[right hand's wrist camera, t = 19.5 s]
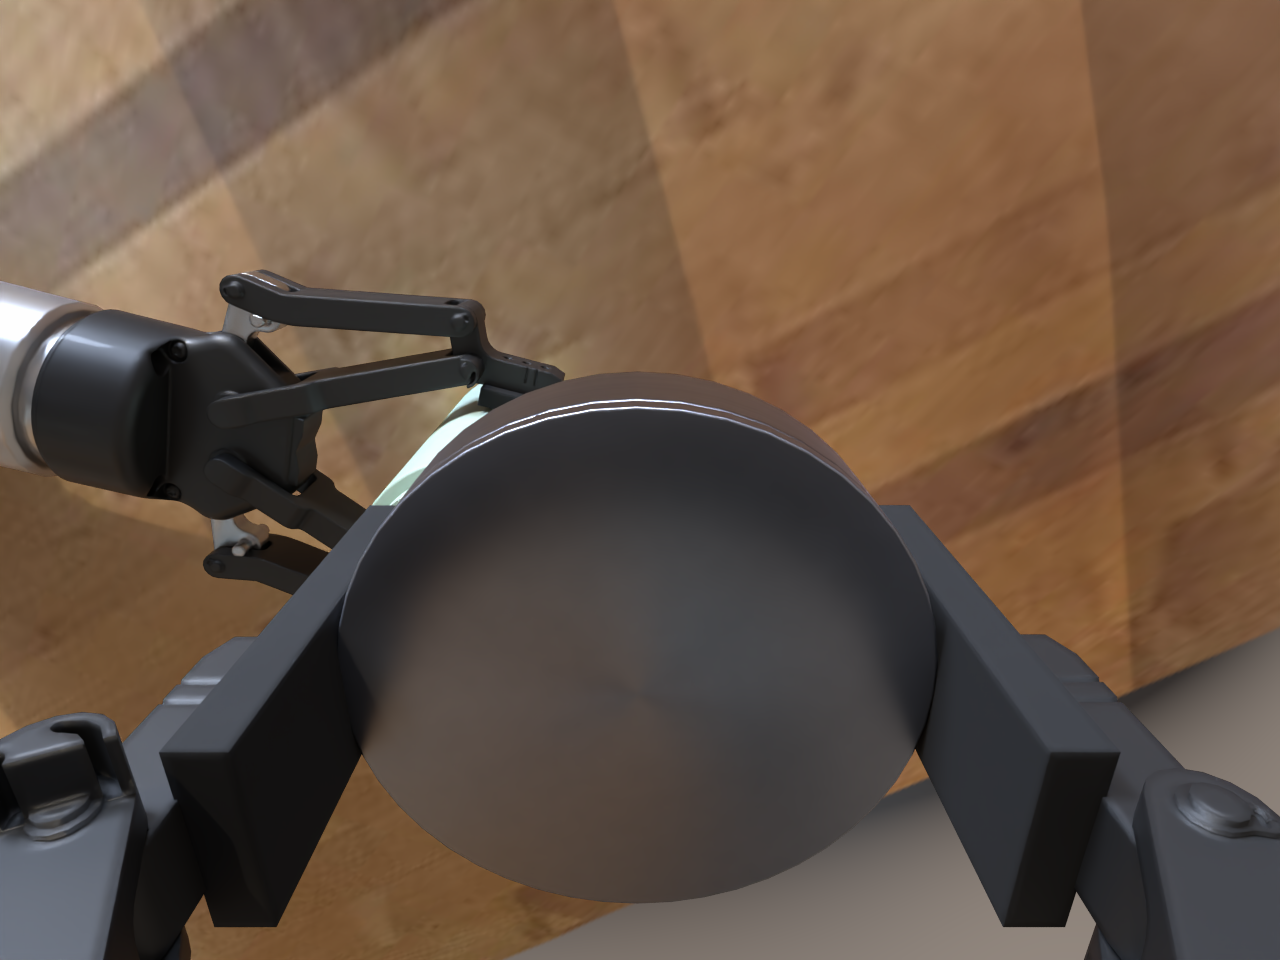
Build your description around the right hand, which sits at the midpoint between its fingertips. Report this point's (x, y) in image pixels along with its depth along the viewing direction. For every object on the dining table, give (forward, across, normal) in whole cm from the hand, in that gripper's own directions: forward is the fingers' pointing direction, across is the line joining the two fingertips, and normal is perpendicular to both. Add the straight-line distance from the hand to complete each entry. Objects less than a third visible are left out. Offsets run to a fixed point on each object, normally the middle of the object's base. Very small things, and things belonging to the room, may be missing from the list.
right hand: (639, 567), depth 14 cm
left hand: (+17, +2, +7) cm, 19 cm away
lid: (-3, 0, 0) cm, 3 cm away
